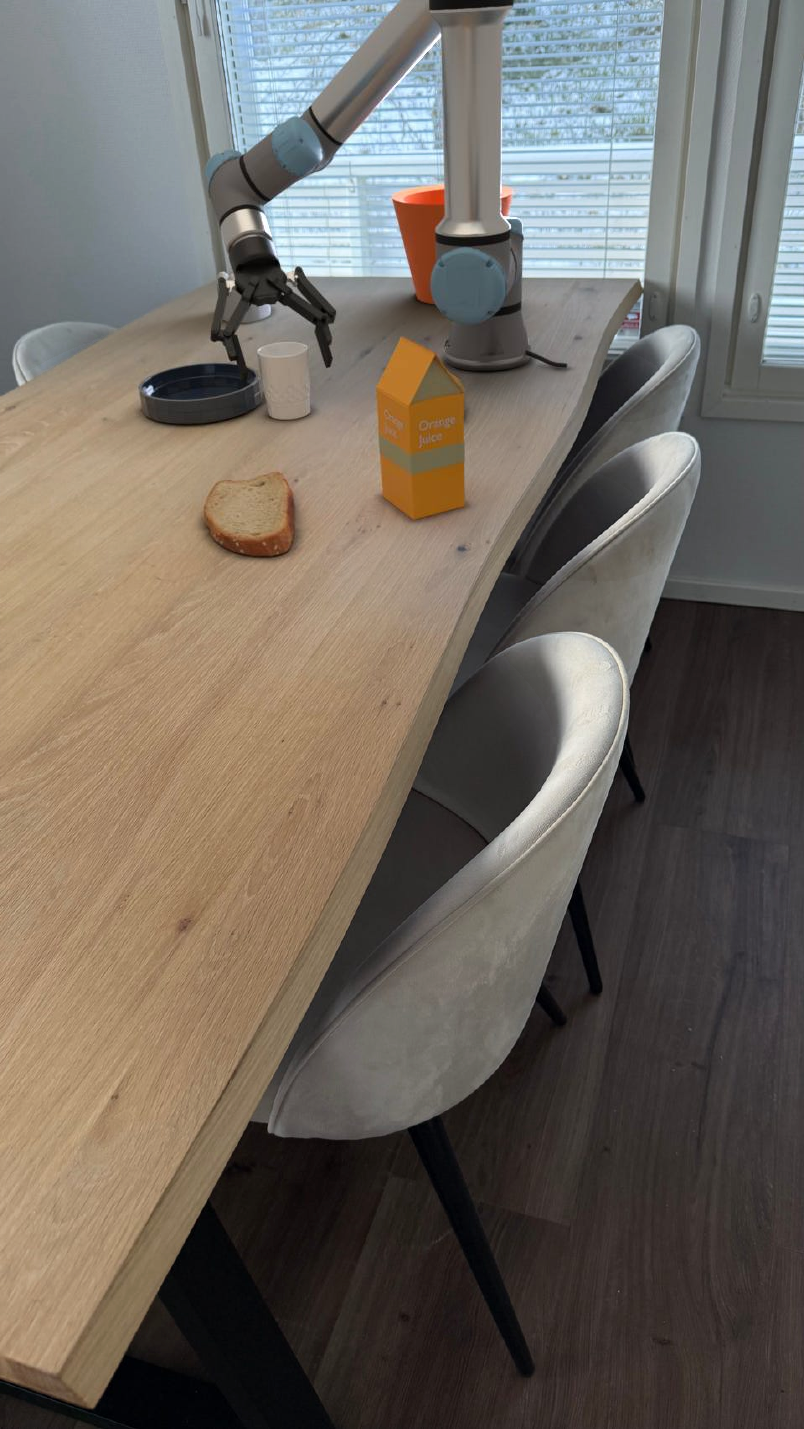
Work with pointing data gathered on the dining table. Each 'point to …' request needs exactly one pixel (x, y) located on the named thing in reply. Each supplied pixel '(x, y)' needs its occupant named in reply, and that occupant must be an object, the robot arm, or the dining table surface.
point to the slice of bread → (252, 515)
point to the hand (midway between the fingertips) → (287, 370)
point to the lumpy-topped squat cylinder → (233, 300)
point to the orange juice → (420, 433)
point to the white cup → (285, 379)
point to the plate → (199, 393)
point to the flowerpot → (426, 230)
